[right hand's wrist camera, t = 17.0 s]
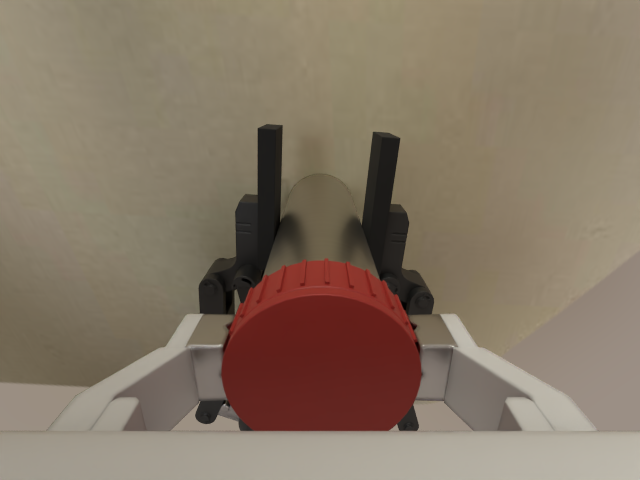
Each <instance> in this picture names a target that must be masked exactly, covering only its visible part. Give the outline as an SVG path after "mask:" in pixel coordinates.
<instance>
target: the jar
mask: <svg viewBox="0 0 640 480" xmlns="http://www.w3.org/2000/svg"><path fill="white" fill-rule="evenodd" d="M325 258H328V261H336V262H341V263H346V261H347V262H350V265H352V266H355V267H358V268H361V269H363V270H366V269H368V270H370V273H371V274H372V275H373V276H375V277H376V278H378V279H379V280H380V278H379V276H378V273H377V270H376V267H375V264H374V261H373V258H372V255H371V252H370V249H369V246H368V243H367V240H366V237H365V234H364V231H363V228H362V225H361V222H360V219H359V216H358V214H357V211H356V208H355V205H354V202H353V199H352V196H351V193H350V191H349V190H348V188H347V187H346V186H345V184H344V183H342V182H341V181H340V180H339V179H337V178H335V177H332V176H330V175H325V174H316V175H311V176H308V177H306V178H304V179H302V180H301V181H299V182H298V183H297V184H296V185H295V186H294V188H293V189H292V191H291V192H290V195H289V197H288V201H287V204H286V207H285V210H284V213H283V216H282V219H281V222H280V225H279V228H278V231H277V235H276V238H275V241H274V244H273V247H272V250H271V253H270V256H269V259H268V262H267V265H266V269H265V272H264V275H263V277H264V276H265V275H267V276H269V275H271V274H272V273H274V272H276V271H278V270H280V269H281V267H282V266H283V265H285V266H286V267H287V266H290V265H293V264H297V263H301V262H302V260H305V259H306V261H321V260H324V259H325ZM262 280H263V278H262Z"/></svg>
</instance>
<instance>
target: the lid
mask: <svg viewBox="0 0 640 480" xmlns="http://www.w3.org/2000/svg"><path fill="white" fill-rule="evenodd" d="M229 334H230V339H229V342H228V345H227V347H226V350H225V353H224V356H223V361H222V370H221V377H222V384H223V388H224V392H225V395H226V397H227V399H228V401H229V403H230V405H231V407H232V408H233V410H234V411H235V413H236V414H237V415H238V417H239V418H240V419H241V420H242V421H243V422H244V423H245V424H246V425H248V426H249V427H250V428H251V429H252V430H254V431H389V430H390V429H391V428H393V427H394V426H395V425H396V424H397V423H398V422H400V421H401V419H402V418H403V417H404V416H405V415H406V414H407V413H408V411H409V409H410V408H411V406H412V405H413V403H414V401H415V399H416V397H417V394H418V391H419V387H420V383H421V375H422V373H421V361H420V356H419V353H418V350H417V347H416V345H415V342H417V338H416V336H415V334H414V331H413V329H412V326H411V324H410V321H409V319H408V316H407V314H406V311H405V310H403V307H402V305H401V302H400V300H399V297H398V295H397V294H396V295H394V294H393V293H392V292H391V291H390V289H389V288H388V286H387V283H386V282H385V281H384V280H383V281H382V282H381V281H380V280H379V279H378V278H376V277H375V276H373V275H372V274H371V273H370V270H368V269H366V270H363V269H361V268H358V267H355V266H352V265H350V262H347V261H346V263H341V262H336V261H328V258H325V259H324V260H321V261H306V259H305V260H302V262H301V263H297V264H293V265H290V266H287V267H286V266H285V265H283V266H282V267H281V269H280V270H278V271H276V272H274V273H272V274H271V275H269V276H267V275H265V276H264V277H263V280H262V281H261V282H260V283H259V284H258V285H257V286H256V287H255V288H254V289H253V288H252V287H251V288H250V289H249V292H248V294H247V297H246V300H245V302H244V304H243V303H240V305H239V308H238V310H237V313H236V315H235V318H234V320H233V323H232V325H231V328H230V330H229Z"/></svg>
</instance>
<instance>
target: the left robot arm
mask: <svg viewBox="0 0 640 480" xmlns="http://www.w3.org/2000/svg"><path fill="white" fill-rule="evenodd" d="M282 128H283V125H270V124H267V125H264V126H262V127H260V128H258V195H249V194H245V195H244V197H243V198H242V199H241V200H240V202H239V204H238V207H237V209H236V211H235V217H236V257H234V258H231V259H225V258H219V259H217V260H215V262H214V263H213V265H212V266H211V267H210V269H209V270H208V272H207V274H206V275H205V277H204V278H203V280H202V281H201V283H200V284H199V302H200V314H235V309H234V290H236V289H237V291H238V294H239V298H240V301H241V303H243V304H244V302H245V300H246V297H247V294H248V292H249V289H250V288H251V287H252V288H253V289H254V288H255V287H256V286H257V285H258V284H259V283H260V282H261V281H262V278H263V275H264V272H265V269H266V265H267V262H268V259H269V256H270V253H271V250H272V247H273V244H274V241H275V238H276V235H277V231H278V228H279V225H280V205H281V166H282ZM399 143H400V138H399V137H396V136H394V135H392V134H390V133H383V132H373V137H372V145H371V154H370V162H369V170H368V179H367V187H366V195H365V204H364V212H363V221H362V228H363V231H364V234H365V237H366V240H367V243H368V246H369V249H370V252H371V255H372V258H373V261H374V264H375V267H376V270H377V273H378V276H379V278H380V281H381V282H382V281H383V280H384V281H385V282H386V283H387V286H388V288H389V289H390V291H391V292H392V293H393V294H394V295H396V294H397V295H398V297H399V300H400V302H401V305H402V307H403V310H405V311H406V314H407V315H429V314H432V309H433V304H434V298H433V296H432V294H431V293H430V291H429V289H428V287H427V285H426V284H425V282H424V280H423V279H422V277H421V275H420V274H419V273H418V272H417V271H415V270H405V269H403V268H402V261H403V256H404V250H405V244H406V243H405V242H406V238H407V232H408V227H409V221H408V217H407V213H406V211H405V210H404V209H403V208H402V206H401V205H398V204H391V197H392V191H393V184H394V177H395V170H396V164H397V157H398V150H399ZM217 415H220V416H224V417H227V418H230V419H233V420H236V421H239V428H240V431H254V430H252V429H251V428H250V427H249V426H248V425H246V424H245V423H244V422H243V421H242V420H241V419H240V418H239V417H238V415H237V414H236V413H235V411H234V410H233V408H232V407H231V405H230V403H229V401H228V400H216V401H200V404H199V406H198V409H197V411H196V415H195V417H196V419H197V420H198V421H199V422H201V423H204V424H210V423H212V422H214V421H215V419H216V417H217ZM397 425H398V428H399V430H400V431H417V430H418V428H419V424H418V421H417V417H416V413H415V410H414V406H413V405H412V406H411V408H410V409H409V411H408V413H407V414H406V415H405V416H404V417H403V418H402V419H401V421H400V422H398V423H397Z"/></svg>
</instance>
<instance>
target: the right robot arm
mask: <svg viewBox="0 0 640 480" xmlns="http://www.w3.org/2000/svg"><path fill="white" fill-rule="evenodd" d="M235 315H236V314H187V315H185V317H184V318H183V320H182V321H181V323H180V324H179V326H178V328H177V329H176V331H175V332H174V334H173V335H172V337H171V339H170V340H169V342H168V343H167V345H166V346H165V347H160V348H158V349H156V350H154V351H153V352H151V353H149V354H147V355H146V356H144V357H142V358H140V359H139V360H137V361H135V362H133V363H132V364H130V365H128V366H126V367H125V368H123V369H121V370H119V371H118V372H116V373H114V374H113V375H111V376H109V377H107V378H106V379H104V380H102V381H100V382H99V383H97V384H95V385H93V386H92V387H90V388H88V389H86V390H85V391H83V392H81V393H79V394H78V395H76V396H75V397H74V398H73V399H72V401H71V402H70V403H69V404H68V405H67V406H66V408H65V409H64V410H63V411H62V412H61V414H60V415H59V416H58V417H57V418H56V420H55V421H54V422H53V423H52V424H51V426H50V427H49V428H48V429H47V430H46V431H0V480H640V431H598V430H597V428H596V427H595V426H594V425H593V424H592V422H591V421H590V420H589V419H588V418H587V417H586V415H585V414H584V413H583V412H582V411H581V409H580V408H579V407H578V406H577V405H576V403H575V402H574V401H573V400H572V399H571V398H570V396H568V395H566V394H565V393H563V392H561V391H559V390H557V389H556V388H554V387H552V386H551V385H549V384H547V383H545V382H543V381H542V380H540V379H538V378H536V377H535V376H533V375H531V374H529V373H528V372H526V371H524V370H522V369H521V368H519V367H517V366H515V365H514V364H512V363H510V362H508V361H507V360H505V359H503V358H501V357H500V356H498V355H496V354H494V353H493V352H491V351H489V350H487V349H486V348H484V347H478V346H477V344H476V343H475V341H474V340H473V338H472V337H471V335H470V334H469V332H468V331H467V329H466V328H465V326H464V325H463V323H462V322H461V320H460V319H459V317H458V316H457V315H456V314H429V315H407V316H408V319H409V321H410V324H411V326H412V329H413V331H414V334H415V336H416V338H417V342H415V345H416V347H417V350H418V353H419V356H420V361H421V373H422V375H421V383H420V387H419V391H418V394H417V397H416V399H415V400H426V401H444V403H445V404H446V405H447V406H448V407H449V408H450V409H451V410H452V411H454V412H455V413H456V414H457V415H458V416H459V417H460V418H461V419H462V420H463V421H464V422H465V423H466V424H467V425H468V426H469V427H470V428H471V429H472V430H473V431H170V430H171V429H172V428H173V427H174V426H176V425H177V424H178V423H179V422H180V421H181V420H182V419H183V418H184V417H185V416H186V415H187V414H188V413H189V412H190V411H191V410H192V409H193V408H194V407H195V406H196V405H197V404H198V403H199V401H216V400H228V399H227V397H226V395H225V392H224V388H223V384H222V377H221V370H222V361H223V356H224V353H225V350H226V347H227V345H228V342H229V339H230V334H229V330H230V328H231V325H232V323H233V320H234V318H235Z"/></svg>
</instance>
